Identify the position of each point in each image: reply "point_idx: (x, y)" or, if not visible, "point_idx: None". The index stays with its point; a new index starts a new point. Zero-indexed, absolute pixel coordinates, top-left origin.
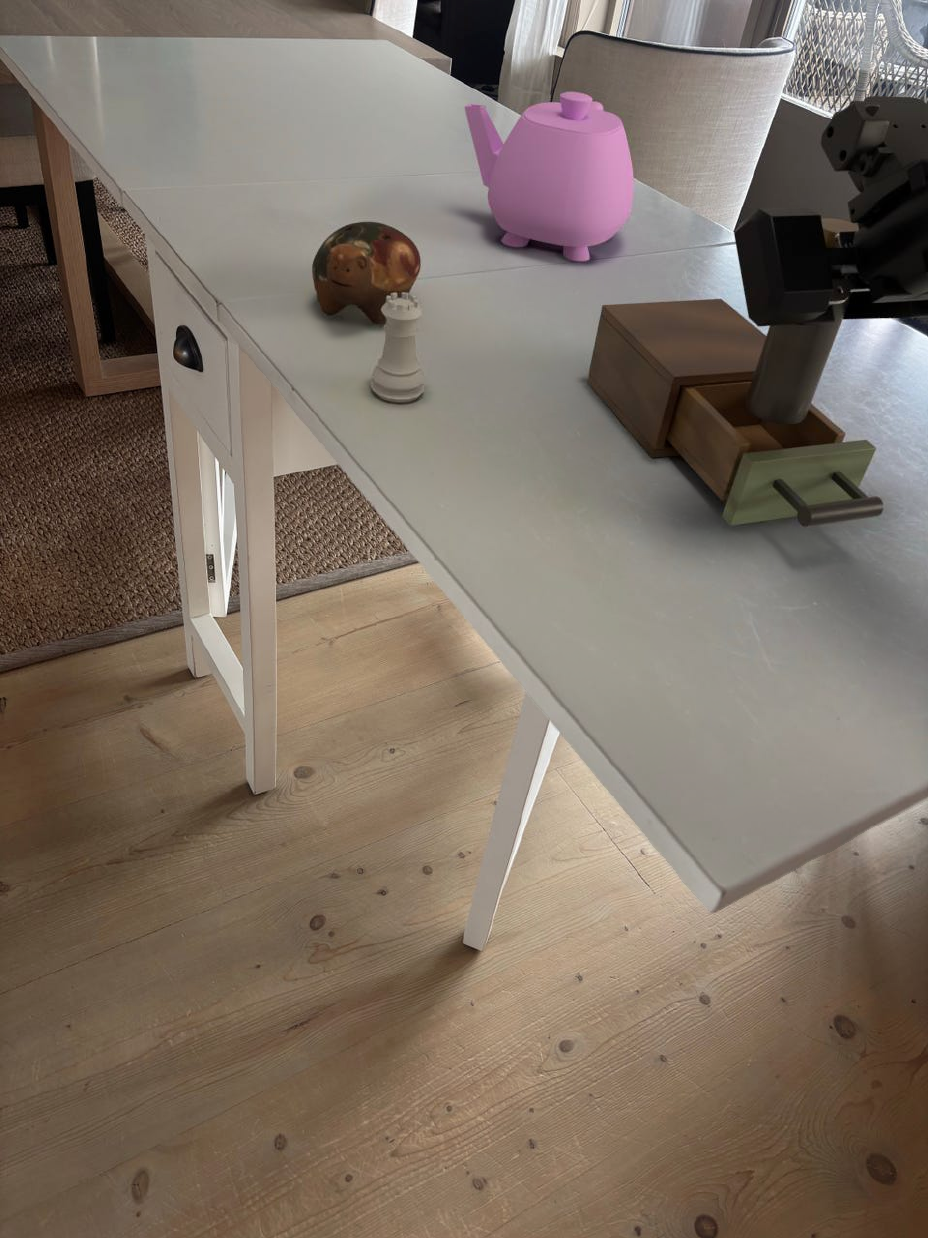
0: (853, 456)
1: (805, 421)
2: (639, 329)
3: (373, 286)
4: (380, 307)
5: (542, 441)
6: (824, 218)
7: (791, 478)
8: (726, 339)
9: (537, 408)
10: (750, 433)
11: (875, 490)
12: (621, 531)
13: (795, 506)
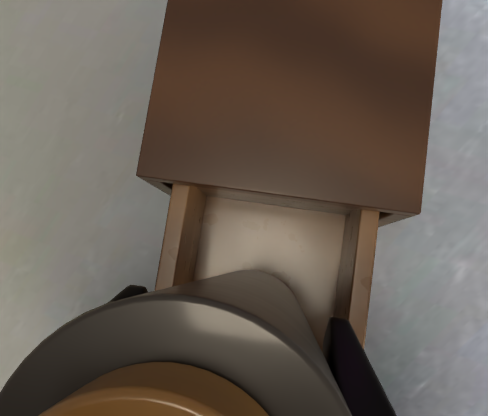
0: None
1: (343, 316)
2: (190, 5)
3: None
4: None
5: (66, 119)
6: (138, 400)
7: None
8: (334, 78)
9: (106, 47)
10: (312, 232)
11: (447, 380)
12: (41, 323)
13: None
